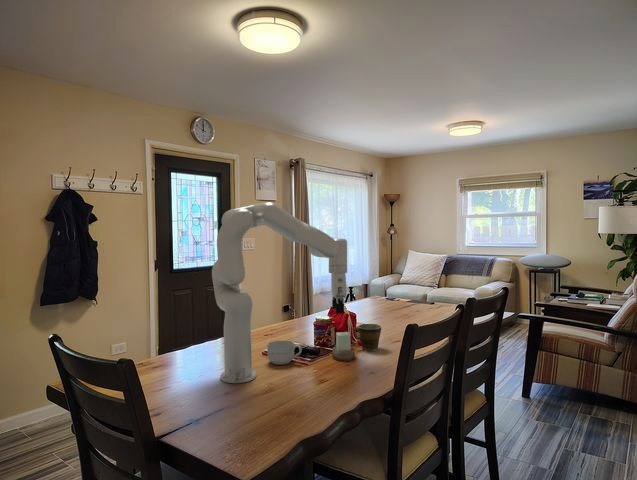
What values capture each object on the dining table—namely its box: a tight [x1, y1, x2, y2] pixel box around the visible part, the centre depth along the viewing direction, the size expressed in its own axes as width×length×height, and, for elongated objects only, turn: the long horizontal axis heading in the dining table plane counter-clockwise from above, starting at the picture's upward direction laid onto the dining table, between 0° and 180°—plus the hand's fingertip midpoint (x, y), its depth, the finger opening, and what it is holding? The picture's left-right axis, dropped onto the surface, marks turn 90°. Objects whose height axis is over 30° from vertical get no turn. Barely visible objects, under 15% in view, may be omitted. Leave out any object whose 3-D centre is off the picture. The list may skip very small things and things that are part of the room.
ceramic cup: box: [350, 323, 382, 353], centre depth 182 cm, size 13×10×10 cm
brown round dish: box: [331, 346, 356, 362], centre depth 171 cm, size 9×9×4 cm
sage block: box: [335, 331, 352, 351], centre depth 171 cm, size 5×5×6 cm
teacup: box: [266, 339, 303, 366], centre depth 165 cm, size 14×11×8 cm
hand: (338, 311), depth 171 cm, fingers open, 9 cm apart
